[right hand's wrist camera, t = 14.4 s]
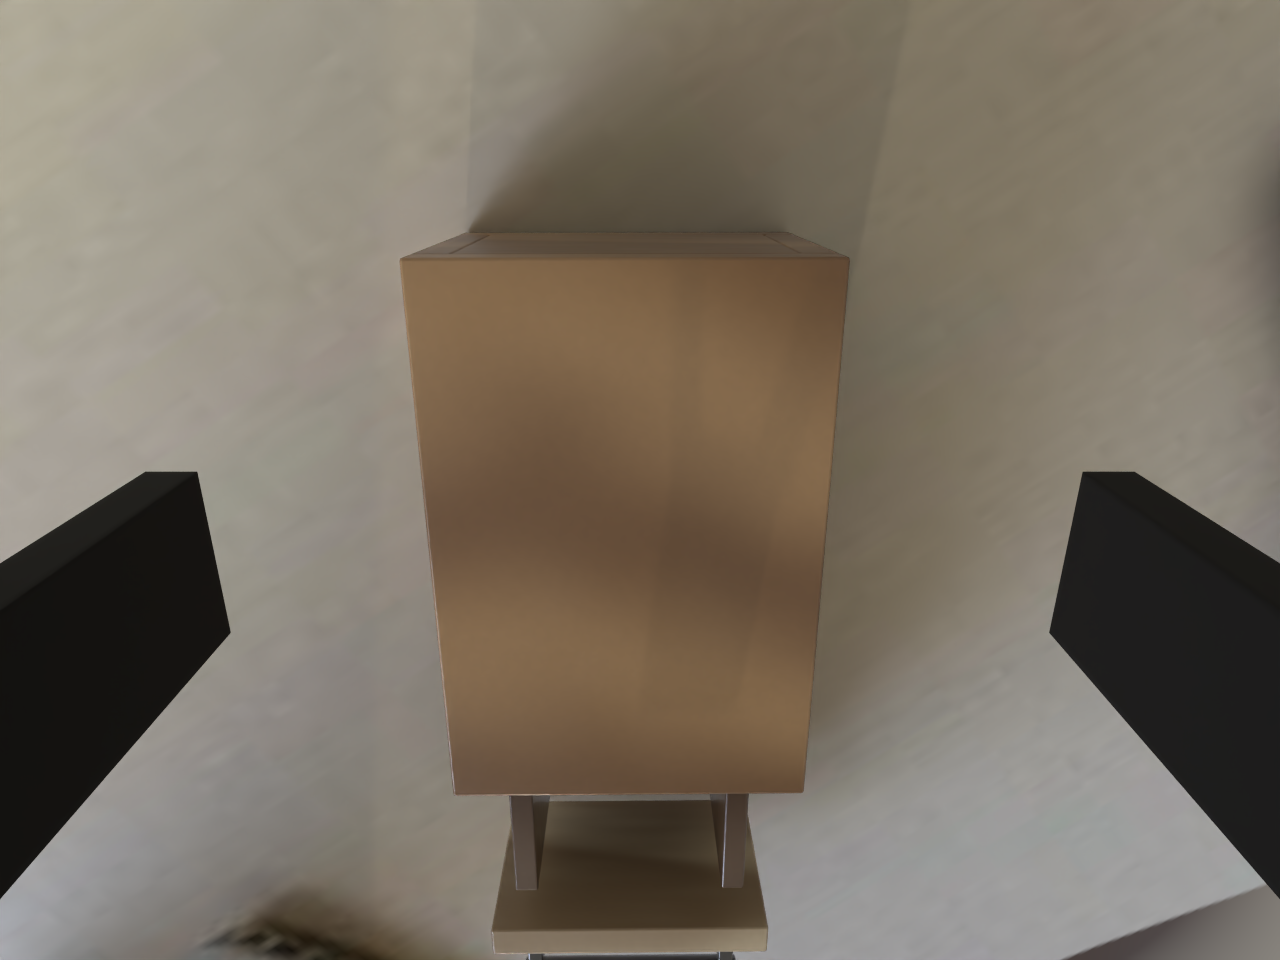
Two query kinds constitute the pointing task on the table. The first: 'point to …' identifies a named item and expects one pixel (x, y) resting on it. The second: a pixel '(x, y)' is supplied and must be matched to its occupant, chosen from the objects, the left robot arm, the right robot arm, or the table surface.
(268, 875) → the table surface
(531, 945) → the drawer
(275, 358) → the table surface
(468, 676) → the cabinet
